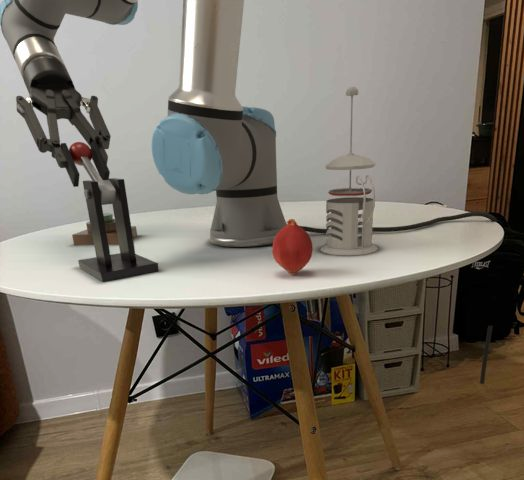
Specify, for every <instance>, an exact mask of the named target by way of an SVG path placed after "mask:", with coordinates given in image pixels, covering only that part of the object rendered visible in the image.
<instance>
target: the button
mask: <svg viewBox="0 0 524 480" xmlns="http://www.w3.org/2000/svg"><path fill="white" fill-rule="evenodd" d="M103 215H104V221H105V223H109V222H113V219H114V214H113V213H111V212H109V213H108V212H107V213H103Z"/></svg>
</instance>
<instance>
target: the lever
mask: <svg viewBox="0 0 524 480" xmlns="http://www.w3.org/2000/svg"><path fill="white" fill-rule="evenodd" d="M68 149H69V151H70V154H71V156H72V158H73V161H74V163H75V165H76V166H82V167H83V168H84V169H85V171H86V173H87V175H88V176H89V178H90V179H91V181H97V182H98V186H99V192H100V198H101V204H102V206H107V205H112V204H115V198H116V190H115V188H114V187H113V185H112V184H111V182H110V181H109V180H102V178H101V177H100V175H99V173H98V171H97V169H96V167H95V165H94V164H93V163H92V162H91V161H92V151H91V147H90V146H89V145H88V143H85V142H82V141H76V142H74V143H72V144H70V146H69V147H68Z"/></svg>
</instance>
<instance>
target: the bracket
mask: <svg viewBox="0 0 524 480" xmlns="http://www.w3.org/2000/svg"><path fill="white" fill-rule="evenodd" d="M108 180H109V181H110V182H111V184H112V185H113V187H114V188H115V190H116V198H115V204H111V205H112V212H113V218H114V219H115V223H116V230H117V236H118V242H119V245H118V248H119V253H114V254H111V250H110V245H108V239H107V233H106V227H105V221H104V215H103V214H104V210H103V205H102V204H101V198H100V192H99V186H98V182H97V181H92V180H88V179H87V180H82V185H83V195H84V198H85V202H86V207H87V213H88V219H89V221H90V225H91V230H92V236H93V241H94V245H93V246H94V252H95V256H94V257H90V258H83V259H78V261H77V262H78V267H79V269H80V270H82V271H84V272H86V273H87V274H89V275H90V276H92V277H94V278H95V279H97V280H99V281H100V282H102V283H104V282H109V281H114V280H119V279H124V278H130V277H135V276H140V275H146V274H150V273H155V272H159V271H160V270H159V264H158V262H156V261H153V260H151V259H149V258H146V257H144V256H141V255H139V254H137V253H136V250H135V242H134V238H133V235H132V229H131V226H132V224H131V223H132V222H131V216H130V209H129V203H128V195H127V189H126V183H125V179H124V178H117V177H111V178H110V177H109V179H108Z"/></svg>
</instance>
